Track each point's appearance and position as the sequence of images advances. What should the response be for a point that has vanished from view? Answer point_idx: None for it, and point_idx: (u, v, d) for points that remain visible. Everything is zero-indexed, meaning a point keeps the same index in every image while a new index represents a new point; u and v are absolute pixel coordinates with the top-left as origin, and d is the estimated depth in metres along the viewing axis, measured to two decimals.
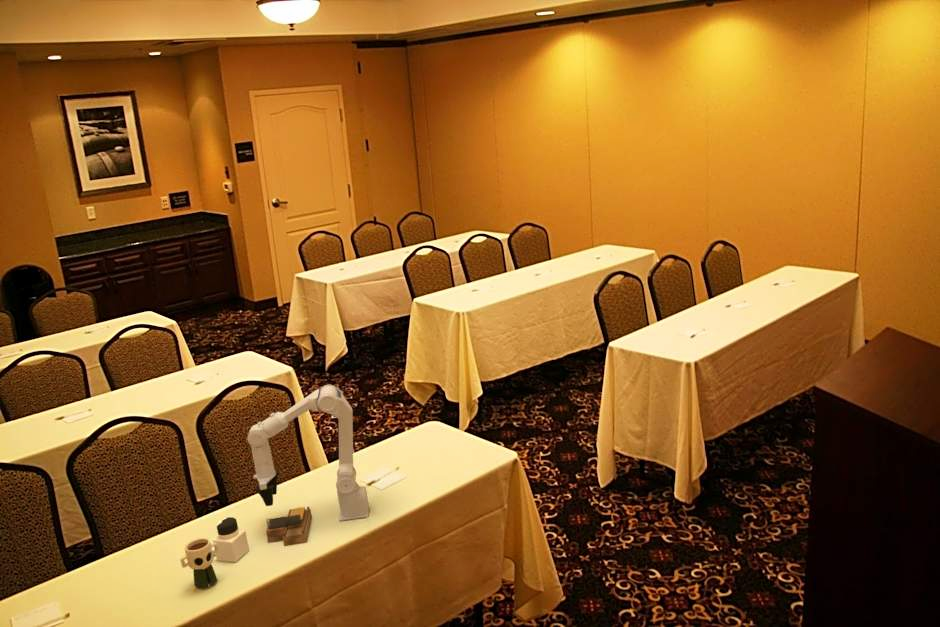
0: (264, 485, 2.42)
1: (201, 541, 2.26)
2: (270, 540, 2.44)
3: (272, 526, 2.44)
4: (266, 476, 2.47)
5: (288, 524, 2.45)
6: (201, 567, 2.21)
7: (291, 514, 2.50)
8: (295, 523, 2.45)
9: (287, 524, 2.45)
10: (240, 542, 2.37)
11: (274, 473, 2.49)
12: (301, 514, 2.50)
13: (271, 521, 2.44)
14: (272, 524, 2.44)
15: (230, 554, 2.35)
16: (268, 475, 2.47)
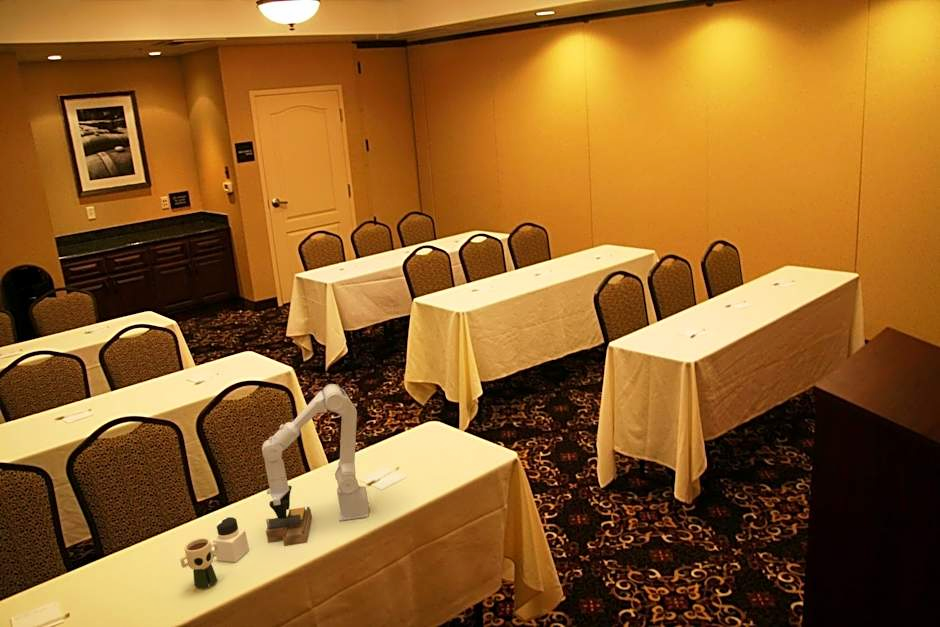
0: (278, 501, 2.41)
1: (201, 541, 2.26)
2: (270, 540, 2.44)
3: (272, 526, 2.44)
4: (280, 491, 2.45)
5: (288, 524, 2.45)
6: (201, 567, 2.21)
7: (291, 514, 2.50)
8: (295, 523, 2.45)
9: (287, 524, 2.45)
10: (240, 542, 2.37)
11: (288, 488, 2.47)
12: (301, 514, 2.50)
13: (271, 521, 2.44)
14: (272, 524, 2.44)
15: (230, 554, 2.35)
16: (282, 490, 2.45)
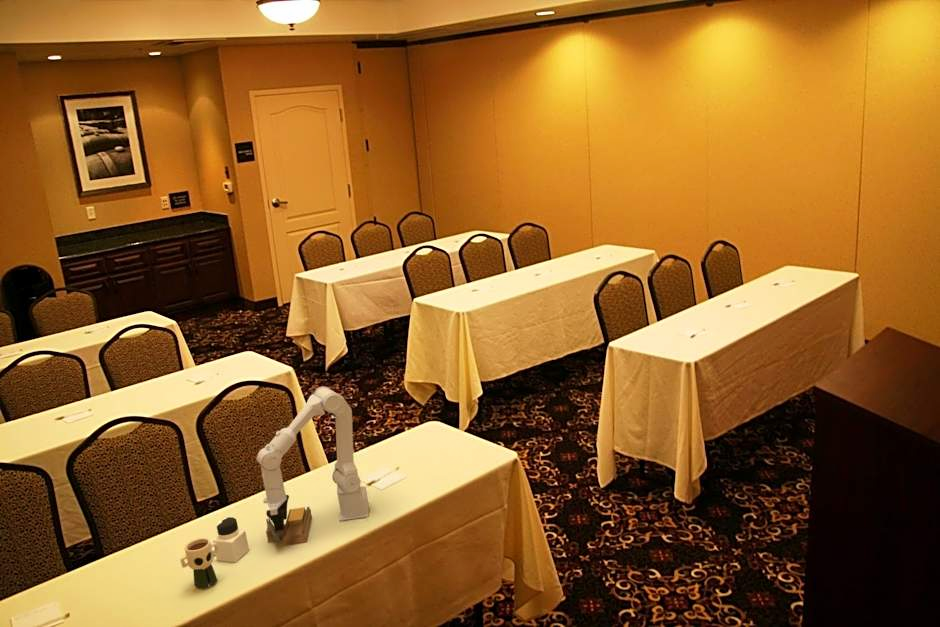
0: (275, 510, 2.35)
1: (201, 541, 2.26)
2: (270, 540, 2.44)
3: (268, 528, 2.44)
4: (277, 501, 2.39)
5: None
6: (201, 567, 2.21)
7: (291, 514, 2.50)
8: (274, 538, 2.38)
9: (272, 534, 2.40)
10: (240, 542, 2.37)
11: (285, 497, 2.41)
12: (301, 514, 2.50)
13: (267, 523, 2.43)
14: (268, 526, 2.44)
15: (230, 554, 2.35)
16: (279, 500, 2.39)
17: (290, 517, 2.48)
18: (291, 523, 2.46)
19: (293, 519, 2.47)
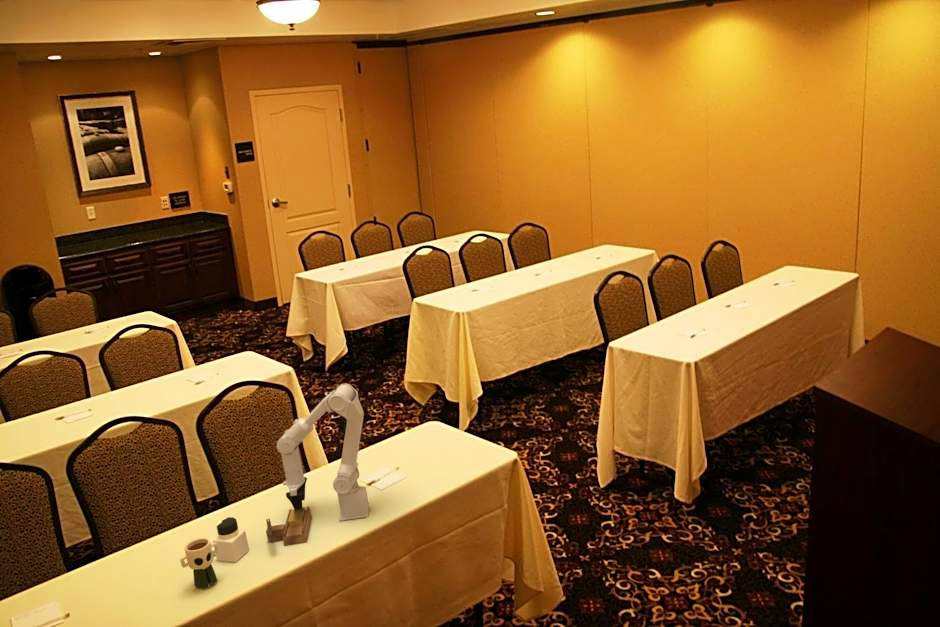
0: (294, 491, 2.49)
1: (201, 541, 2.26)
2: None
3: None
4: (296, 483, 2.53)
5: None
6: (201, 567, 2.21)
7: (291, 515, 2.50)
8: None
9: None
10: (240, 542, 2.37)
11: (303, 480, 2.56)
12: (301, 515, 2.49)
13: None
14: None
15: (230, 554, 2.35)
16: (298, 482, 2.54)
17: (290, 518, 2.48)
18: (291, 524, 2.46)
19: (293, 520, 2.46)
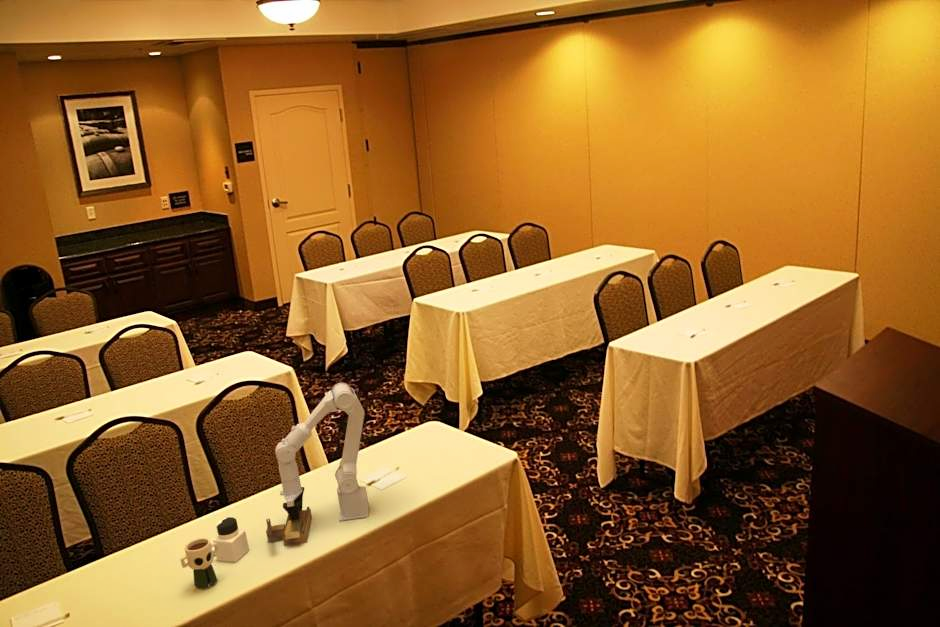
0: (291, 502, 2.42)
1: (201, 541, 2.26)
2: None
3: None
4: (293, 493, 2.46)
5: None
6: (201, 567, 2.21)
7: (288, 526, 2.43)
8: None
9: None
10: (240, 542, 2.37)
11: (301, 490, 2.48)
12: (298, 526, 2.42)
13: None
14: None
15: (230, 554, 2.35)
16: (295, 492, 2.46)
17: (287, 529, 2.41)
18: (288, 535, 2.39)
19: (290, 532, 2.39)
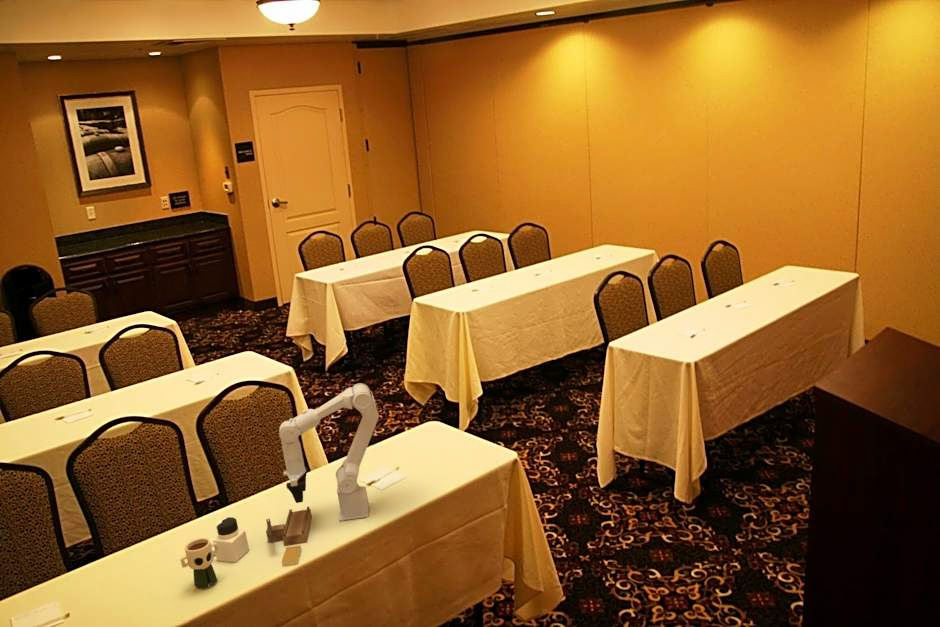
0: (295, 482, 2.42)
1: (201, 541, 2.26)
2: None
3: None
4: (296, 473, 2.46)
5: None
6: (201, 567, 2.21)
7: (285, 553, 2.34)
8: None
9: None
10: (240, 542, 2.37)
11: (304, 470, 2.48)
12: (296, 554, 2.33)
13: None
14: None
15: (230, 554, 2.35)
16: (298, 472, 2.46)
17: (284, 557, 2.32)
18: (285, 564, 2.30)
19: (287, 560, 2.30)
